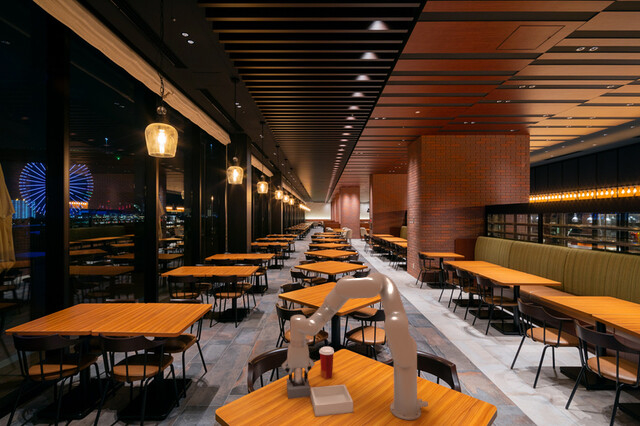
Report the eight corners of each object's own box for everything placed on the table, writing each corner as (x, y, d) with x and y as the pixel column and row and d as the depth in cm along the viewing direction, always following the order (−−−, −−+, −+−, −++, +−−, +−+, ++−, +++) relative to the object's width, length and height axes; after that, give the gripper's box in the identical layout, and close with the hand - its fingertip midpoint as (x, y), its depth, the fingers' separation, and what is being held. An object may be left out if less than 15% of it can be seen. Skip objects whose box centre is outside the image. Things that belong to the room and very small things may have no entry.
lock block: (307, 385, 153) (307, 377, 153) (310, 396, 143) (310, 387, 143) (286, 387, 151) (286, 378, 151) (288, 398, 141) (288, 389, 141)
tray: (344, 394, 145) (344, 384, 145) (353, 412, 131) (353, 401, 131) (310, 397, 142) (310, 387, 142) (315, 416, 128) (315, 405, 128)
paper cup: (334, 373, 165) (334, 346, 166) (333, 380, 157) (333, 352, 158) (319, 372, 166) (319, 345, 166) (318, 379, 158) (318, 351, 159)
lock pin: (301, 389, 149) (301, 363, 150) (302, 393, 145) (302, 367, 146) (293, 389, 149) (293, 364, 149) (294, 394, 145) (294, 368, 145)
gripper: (315, 338, 153) (315, 375, 152) (279, 340, 150) (279, 378, 149) (317, 344, 146) (317, 383, 145) (280, 346, 143) (280, 386, 142)
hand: (298, 380), depth 147 cm, fingers open, 6 cm apart
